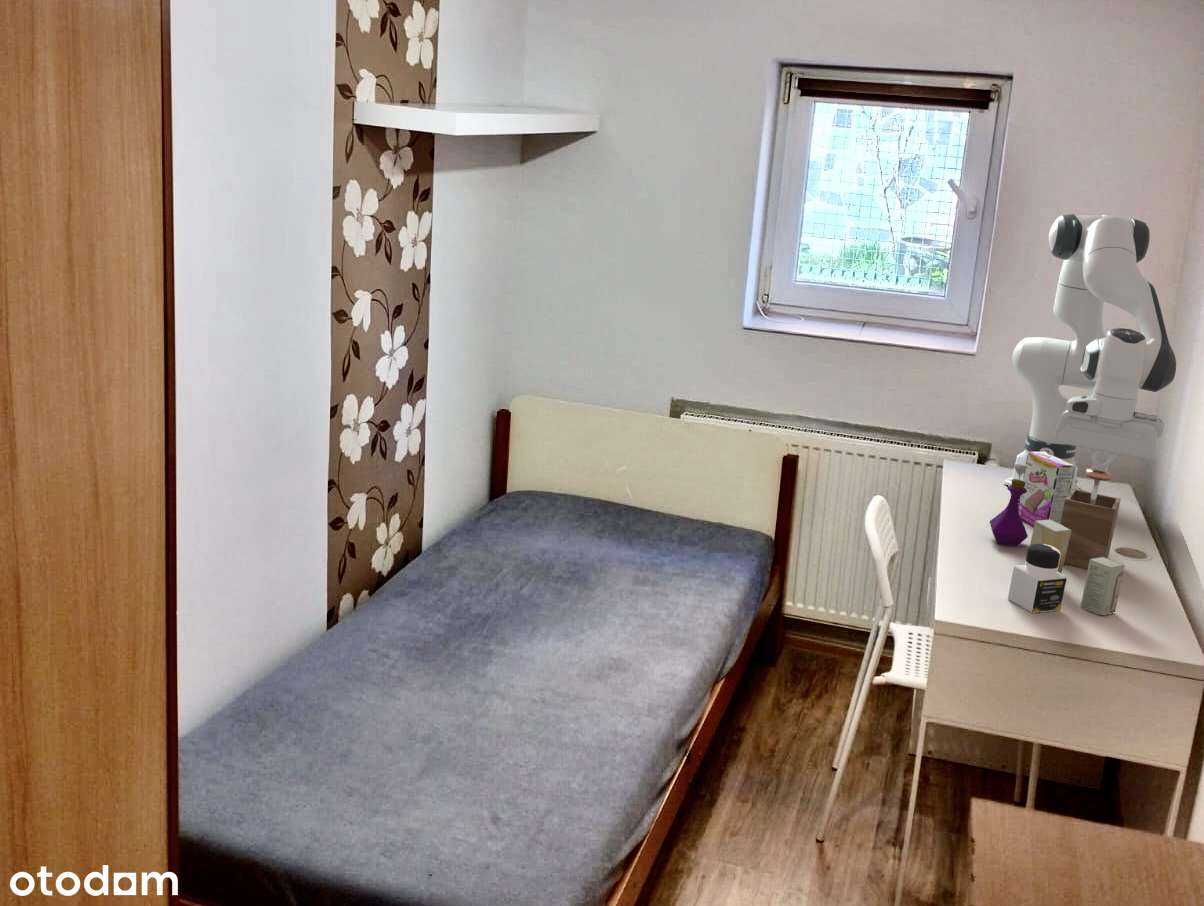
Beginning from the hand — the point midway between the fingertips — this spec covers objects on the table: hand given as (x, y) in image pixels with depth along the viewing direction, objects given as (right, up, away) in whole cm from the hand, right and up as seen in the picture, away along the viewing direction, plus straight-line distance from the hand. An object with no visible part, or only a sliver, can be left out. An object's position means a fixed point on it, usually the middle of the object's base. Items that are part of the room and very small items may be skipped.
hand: (1099, 471), depth 264 cm
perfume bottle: (-15, -16, +13) cm, 26 cm away
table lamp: (-1, -13, +4) cm, 13 cm away
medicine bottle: (-21, -26, -22) cm, 40 cm away
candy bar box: (-3, -13, +27) cm, 30 cm away
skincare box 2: (-9, -27, -21) cm, 35 cm away
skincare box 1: (-15, -22, -8) cm, 28 cm away
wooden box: (-2, -19, +6) cm, 20 cm away
